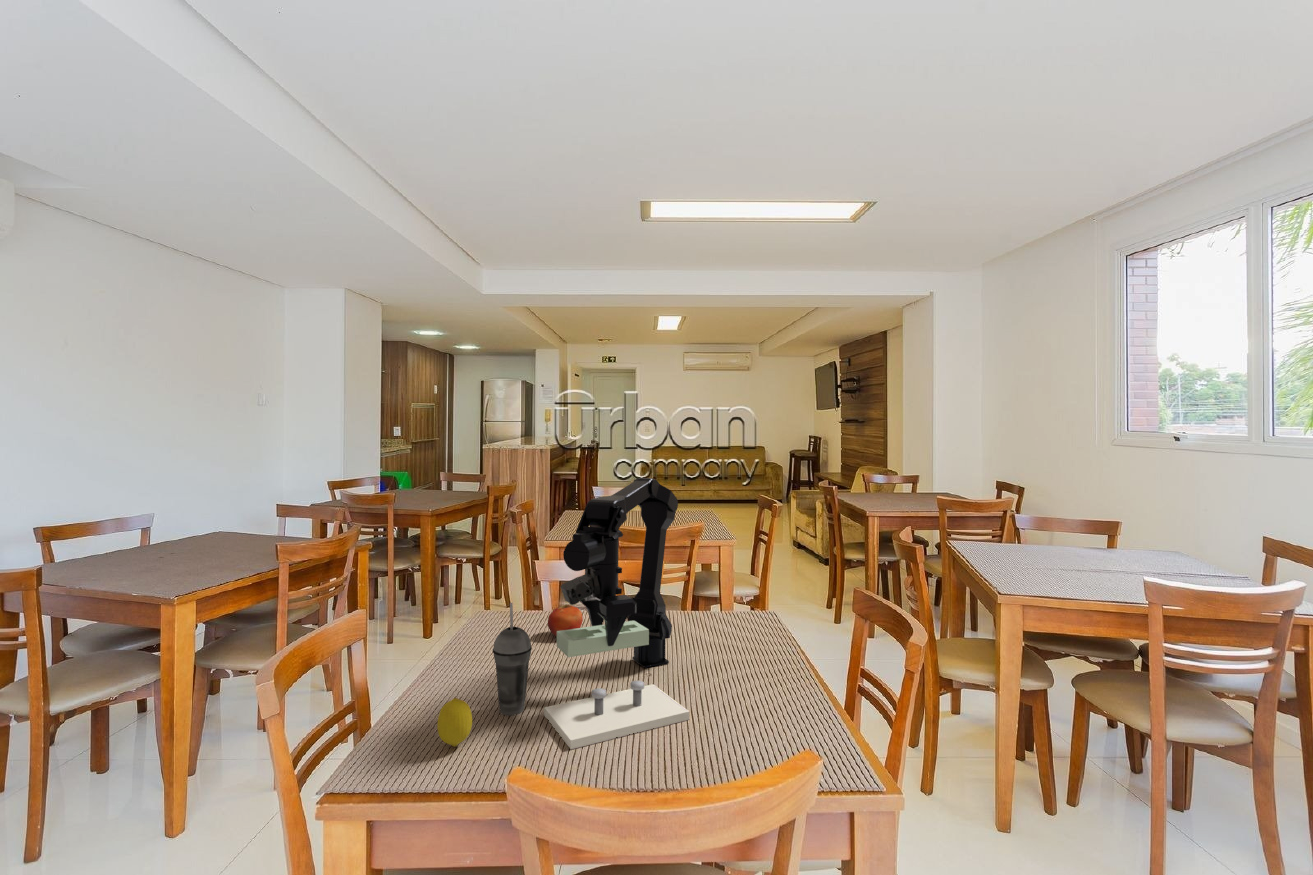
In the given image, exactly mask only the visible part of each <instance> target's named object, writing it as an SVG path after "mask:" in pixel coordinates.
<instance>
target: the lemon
mask: <svg viewBox="0 0 1313 875" xmlns="http://www.w3.org/2000/svg"><path fill="white" fill-rule="evenodd" d="M472 714H473V713H472V710H471V707H470V705H469V704H468V702H466V701H464V699H463V700H462V699H459V698H457V697H454V698H452V699H451V700H449V701H447V702H446V703H445V704H444V705H443V706H442V707H441V708H440V711H439V713H438V716H437V717H438V718H437V726H436V728H437V734H438V737H439V738H440V740H441V741H442V742H444V743H445V744H447V745H450V746H452V747H453V748H456V747H458V745H459V744H460V743H462V742H464V741H466V739H467V738H468V737H469V735H470V733H471V732H472V731H471V730H472V726H473V715H472Z"/></svg>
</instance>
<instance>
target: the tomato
mask: <svg viewBox="0 0 1313 875" xmlns="http://www.w3.org/2000/svg"><path fill="white" fill-rule="evenodd" d="M583 618H584V617H583V612H582V611H581V609H580V608H578V607H576V606H573V605H571V604H565V605H559V606H558V607H556V608H554V609H553V610H552V611H551V612H550V614H549V616H548V618H547V627H548V629H549V631H550V632H551V634H552V635H553V636H555V637H556V638H557V631H562V630H569V629H576V628H582V625H583V621H584V619H583Z"/></svg>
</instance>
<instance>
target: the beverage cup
mask: <svg viewBox="0 0 1313 875" xmlns="http://www.w3.org/2000/svg"><path fill="white" fill-rule="evenodd" d="M513 606H514V604H513V602H509V625H510V626H509V627H506V628H504V629H502V631H500V632H499V633H498V635H497V636H496V638H495V640H494V641H493V642H494V644H493V648H492V653H493V659H494V663H495V673H496V674H495V675H496V686H497V698H498V708H499V713H500V714H501V715H503V716H515V715H514V714H517V715H519V714H522V713H524V711H523V710H525V704H526V697H527V685H528V678H529V677H528V675H529V674H528V673H529V664H530V659H531V655H532V650H533V648H532V642H531V639H530V636H529V634H528V633H527V632H526V631H525V630H524V629H522V628H521V627H520V626H519V627H518V626H514V614H513V612H514V611H513ZM521 712H522V713H521Z"/></svg>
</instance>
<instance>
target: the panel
mask: <svg viewBox="0 0 1313 875" xmlns="http://www.w3.org/2000/svg"><path fill="white" fill-rule="evenodd" d="M643 645H649V629H647V628H645V627H644V626H642V625H641V624H639V623H637V622H636V621H628V620H626V621H625V623H624V624H623V626H622V628H621V630H620V632H619V635H618V637H617V639H616V641H615V643H614V645H613V646H608V645H607V639H606V630H605V624H602V625H598V626H591V625H590V626H584V627H581V628H576V629H569V630H562V631H557V637H556V647H557V648H558V650H559V651H561V652H562V653H563V654H564V655H565V656H566V657H567V658H572V657H573V658H574V657H580V656H585V655H586V656H587V655H591V654H599V653H603V652H604V653H605V652H610V651H611V652H612V651H617V650H618V651H619V650H624V649H629V648H634V647H637V646H643Z"/></svg>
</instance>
